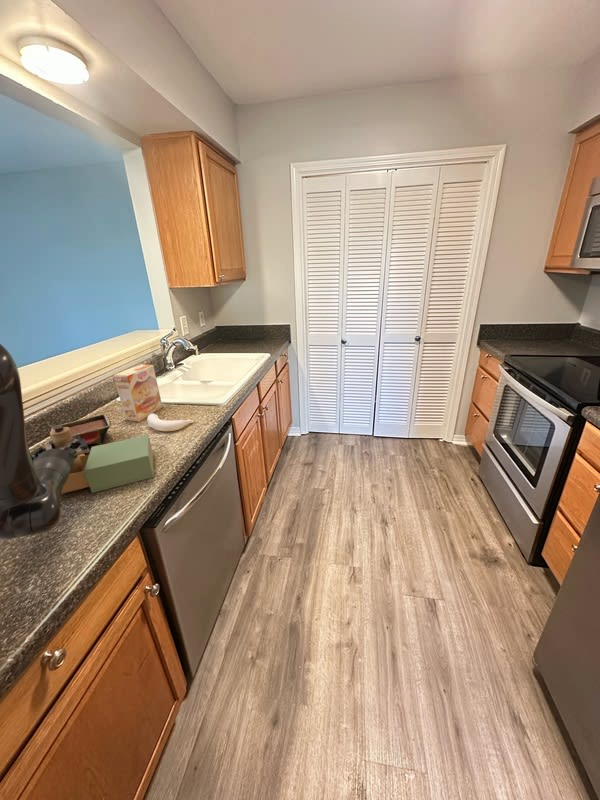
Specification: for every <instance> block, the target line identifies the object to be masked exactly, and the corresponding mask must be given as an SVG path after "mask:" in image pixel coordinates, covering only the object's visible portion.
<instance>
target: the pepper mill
mask: <svg viewBox="0 0 600 800" xmlns="http://www.w3.org/2000/svg"><path fill="white" fill-rule="evenodd" d="M56 426H57V427H55V426H54V427H55V428H54V430H52V431H51V432H50V431H49V437H50V436H51V437H50V439H51V438H52V439H51V441H53V443H54V446H55V449H57V448H61V447H63V446H64V445H65V444H66V443H69V442H71V441H72V439H73V437H72V434H71V431H70V428H69V427H63V426H58V425H56ZM81 471H84V468H83V465H82V462H81V459H80V456H79V455H78V457H77V458H76V459H74V464H73V467H72V469H71V472H70V474H73V473H77V472H81Z"/></svg>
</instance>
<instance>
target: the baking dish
mask: <svg viewBox="0 0 600 800" xmlns="http://www.w3.org/2000/svg"><path fill="white" fill-rule="evenodd" d="M111 425H112V422H111V420H110V417H109V416H107V414H104V413H102V414H97V415H93V416H90V417H86V418H82V419H77V420H74V421H70V422H66V423H63V424H58V425H54V426H52V427H51V428H50V430H49V433H50V432H51V431H52V430H54V428H55V427H57V426H63V427H69V428H70V431H71V434H72V437H74V435H76V434H78V436H79V435H80V437H81V439H85V441H86V444H87V446H89V445H92V444H93V445H95V444H99V445H103V444H105V443H104V442H105V440H106V435H107V433H108V431H109V428H110V427H111ZM49 437H50V439H51V440H52V438H51V436H50V435H49Z"/></svg>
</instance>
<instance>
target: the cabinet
mask: <svg viewBox="0 0 600 800" xmlns="http://www.w3.org/2000/svg"><path fill="white" fill-rule="evenodd" d="M150 440H151V439H150V436H149V435H148V434H146V435H142V436H137V437H133V438H128V439H123V440H118V441H114V442H113V441H112V442H108V443H104V444H99V445H95V446H91V448H90V450H89V452H90V454H89V457H88V460H87V463H86V466H85V469H84V472H85V475H86V478H87V481H88V483H89V486H90V487H89V489H90V492H91V494H93V493H97V492H102V491H105V490H109V489H113V488H116V487H121V486H124V485H129V484H132V483H136V482H140V481H144V480H148V479H151V478H155V468H154V467H155V466H154V465H155V464H154V452H153V448H152V444H151V441H150Z"/></svg>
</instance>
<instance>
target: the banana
mask: <svg viewBox="0 0 600 800" xmlns="http://www.w3.org/2000/svg"><path fill="white" fill-rule="evenodd" d="M146 421H147V422H146V423H147V424H148V426H149V427H150V428H151V429H153V430H155V431H159V432H175V431H178V430H181V429H183V428H184V427H185V426H186V425H187V424H193V423H195V421H194V420H193V419H187V420H183V419H173V420H164V419H160V418H159V416H158V415H157V413H152V414H150V415H149V416H147V417H146Z"/></svg>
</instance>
